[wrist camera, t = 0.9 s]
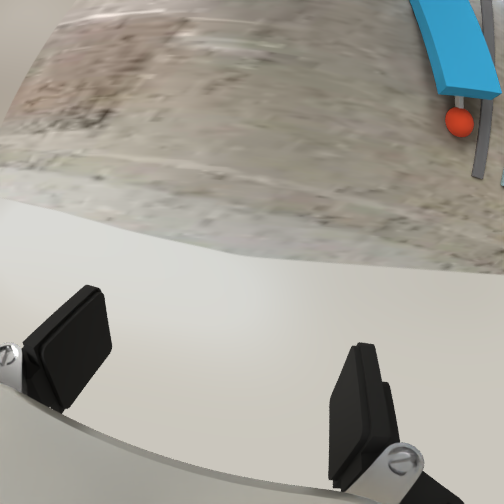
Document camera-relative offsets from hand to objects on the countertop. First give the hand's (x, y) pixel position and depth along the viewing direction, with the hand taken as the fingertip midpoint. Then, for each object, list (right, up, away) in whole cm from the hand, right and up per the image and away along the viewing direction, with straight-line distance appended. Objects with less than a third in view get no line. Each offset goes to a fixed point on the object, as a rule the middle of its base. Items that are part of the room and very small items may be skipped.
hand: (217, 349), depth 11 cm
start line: (+29, +24, +13) cm, 40 cm away
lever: (+23, +25, +15) cm, 37 cm away
